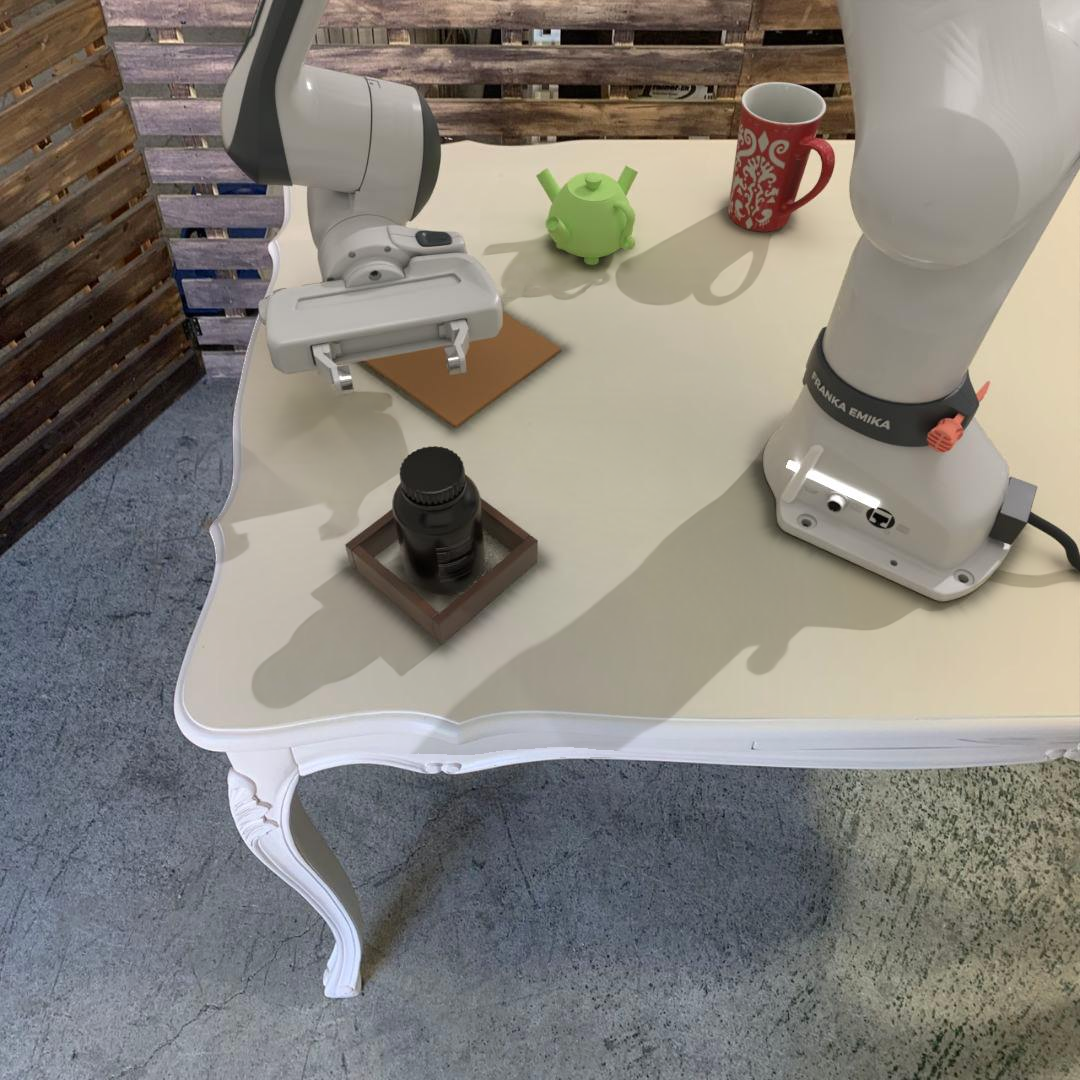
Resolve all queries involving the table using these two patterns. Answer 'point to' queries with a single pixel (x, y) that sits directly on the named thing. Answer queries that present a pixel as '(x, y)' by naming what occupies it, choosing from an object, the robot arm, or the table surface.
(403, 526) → the supplement bottle
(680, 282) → the table surface
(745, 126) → the mug
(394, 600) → the frame
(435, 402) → the cork mat
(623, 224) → the teapot
